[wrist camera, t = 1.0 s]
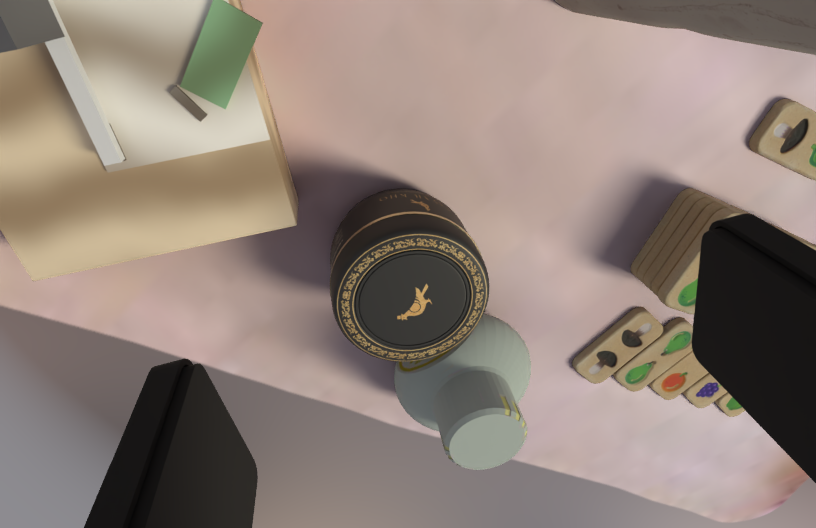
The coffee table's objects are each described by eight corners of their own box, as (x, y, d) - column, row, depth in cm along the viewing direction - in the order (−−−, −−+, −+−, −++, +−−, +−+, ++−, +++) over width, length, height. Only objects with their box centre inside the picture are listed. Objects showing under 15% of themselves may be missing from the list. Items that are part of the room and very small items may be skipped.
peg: (-54, -148, 21) (-196, -192, 16) (6, -158, 22) (-113, -205, 16) (97, 161, 28) (38, 213, 22) (141, 153, 28) (95, 202, 22)
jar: (476, 187, 37) (510, 235, 31) (449, 305, 42) (473, 368, 35) (335, 173, 35) (339, 220, 28) (322, 298, 40) (323, 364, 33)
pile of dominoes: (555, 367, 48) (581, 411, 43) (750, 77, 37) (814, 94, 32) (810, 434, 58) (854, 475, 54) (1019, 226, 48) (1097, 255, 43)
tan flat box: (-181, -170, 24) (-280, -197, 20) (201, -234, 24) (180, -272, 21) (61, 250, 35) (29, 285, 31) (318, 196, 36) (318, 224, 32)
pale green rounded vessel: (485, 282, 41) (529, 365, 33) (531, 346, 45) (581, 435, 37) (373, 354, 43) (387, 451, 34) (427, 409, 47) (451, 508, 38)
